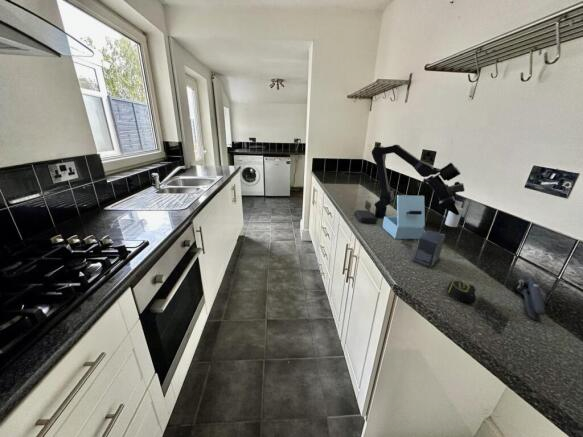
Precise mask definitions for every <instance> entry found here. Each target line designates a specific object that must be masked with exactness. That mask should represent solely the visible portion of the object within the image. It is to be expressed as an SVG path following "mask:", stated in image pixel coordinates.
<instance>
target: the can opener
mask: <svg viewBox="0 0 583 437" xmlns="http://www.w3.org/2000/svg"><path fill="white" fill-rule="evenodd" d="M517 283H519V284H518V285H517V286H516V287H515V290H516V291H517V292H518V293H519V294H521V295H522V296H523V297H524V298H523V299H524V305H525V310H526V312H527V315H528V317H529V318H530V319H531V320H533V321H536V322H537V321H539V320H540V316H544V315H546V307H545V304H546V302H547V293H546V291H545V290H544V289H543V288H541V287H540V286H539V285H538V283H537V281H536V278H534V277H532V276H526V277H525V278H523V279H521V278H520V279H519V280H518V282H517Z"/></svg>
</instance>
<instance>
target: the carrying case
mask: <svg viewBox="0 0 583 437" xmlns="http://www.w3.org/2000/svg"><path fill="white" fill-rule="evenodd" d="M353 213H354V215H355V217H356V218H357V219H358V221H359V222H360V223H363V224H376V223H377V222H378V218H376V217H375V216H374V214H373V212H372V211H370V210H364V209H362V210H361V209H356V210H355V211H354V212H353Z"/></svg>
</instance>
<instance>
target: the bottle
mask: <svg viewBox="0 0 583 437" xmlns="http://www.w3.org/2000/svg"><path fill="white" fill-rule="evenodd" d="M463 204H464V203H463V201H460V200H456V201H455V206H456V208H457V210H458V212H459V215H456V214H454V213H452V212H450V211H449V210H448V212H447V216H446V218H445V222H444V225H446V226H448V227H451V228H458V225H459V222H460V219H461V216H462V213H463V210H464V208H463V207H462V206H463Z"/></svg>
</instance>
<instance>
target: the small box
mask: <svg viewBox="0 0 583 437" xmlns="http://www.w3.org/2000/svg"><path fill="white" fill-rule="evenodd" d="M445 239H446V234H444V233H442V232H438V231H434V230H429V229H427V231H426V232H425V233H422V236H421V237H420V238H419V239H418V243H417V246H416V251H415V254H414V258H413V262H414V263H417V264H419V265H421V266H424V267H426V268H430V269H431V268H433V266H434V265H435V264H436V263H437V261H438V260H439V259H440V255H441V252H442V248H443V246H444V242H445Z"/></svg>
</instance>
